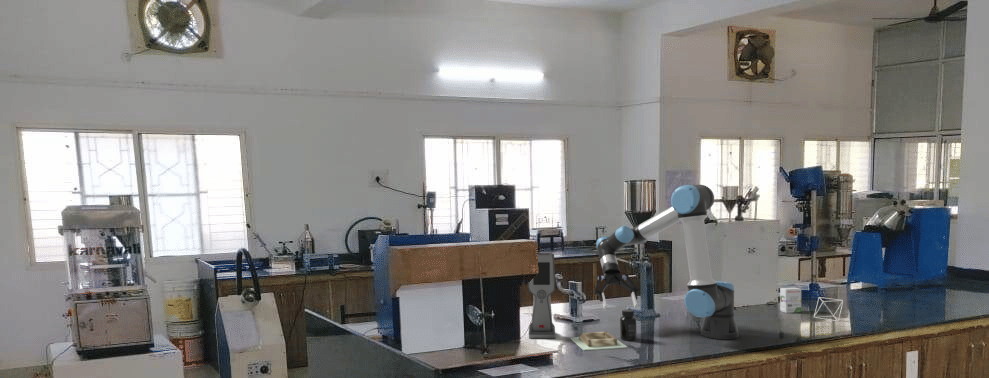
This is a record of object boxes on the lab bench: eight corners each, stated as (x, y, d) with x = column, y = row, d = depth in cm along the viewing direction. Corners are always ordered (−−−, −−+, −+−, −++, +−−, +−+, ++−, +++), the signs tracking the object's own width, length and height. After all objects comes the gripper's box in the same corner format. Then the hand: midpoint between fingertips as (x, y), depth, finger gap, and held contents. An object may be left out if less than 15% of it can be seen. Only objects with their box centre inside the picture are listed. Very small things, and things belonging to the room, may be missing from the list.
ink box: (795, 310, 300) (795, 286, 299) (801, 312, 295) (801, 288, 295) (779, 311, 298) (779, 287, 298) (786, 313, 293) (786, 289, 293)
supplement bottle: (637, 337, 251) (636, 309, 251) (636, 341, 245) (636, 312, 245) (620, 336, 253) (620, 308, 253) (619, 340, 247) (619, 311, 247)
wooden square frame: (606, 337, 250) (606, 331, 250) (617, 345, 239) (616, 338, 239) (579, 339, 248) (579, 333, 248) (588, 346, 237) (588, 340, 237)
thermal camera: (555, 331, 263) (554, 252, 263) (556, 339, 250) (555, 256, 250) (529, 331, 264) (528, 252, 264) (528, 338, 251) (527, 256, 251)
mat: (610, 336, 254) (610, 335, 254) (627, 347, 236) (627, 346, 236) (570, 338, 251) (570, 337, 251) (583, 350, 233) (583, 349, 233)
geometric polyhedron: (815, 320, 279) (815, 300, 279) (811, 314, 289) (811, 296, 289) (845, 322, 275) (846, 302, 275) (840, 316, 285) (840, 297, 285)
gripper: (634, 271, 275) (646, 310, 261) (582, 272, 273) (590, 312, 258) (638, 261, 270) (650, 300, 255) (584, 262, 268) (594, 302, 253)
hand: (620, 306), depth 257 cm, fingers open, 13 cm apart
